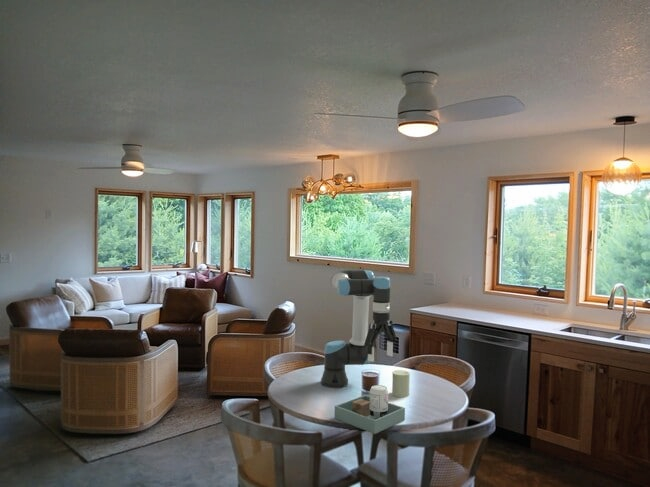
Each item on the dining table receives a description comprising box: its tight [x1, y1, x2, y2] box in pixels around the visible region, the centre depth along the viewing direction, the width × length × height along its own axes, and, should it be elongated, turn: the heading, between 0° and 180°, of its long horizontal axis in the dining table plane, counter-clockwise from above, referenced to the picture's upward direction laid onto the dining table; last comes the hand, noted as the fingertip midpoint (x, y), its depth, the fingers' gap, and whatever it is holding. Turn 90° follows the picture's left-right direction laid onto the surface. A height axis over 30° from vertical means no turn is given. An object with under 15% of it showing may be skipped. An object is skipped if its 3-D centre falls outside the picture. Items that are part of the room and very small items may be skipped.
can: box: [391, 369, 411, 398], centre depth 252 cm, size 9×9×12 cm
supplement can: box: [369, 384, 389, 420], centre depth 215 cm, size 8×8×15 cm
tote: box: [334, 394, 406, 435], centre depth 219 cm, size 24×22×6 cm
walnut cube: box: [352, 399, 370, 417], centre depth 222 cm, size 6×6×6 cm
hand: (380, 358), depth 215 cm, fingers open, 13 cm apart
